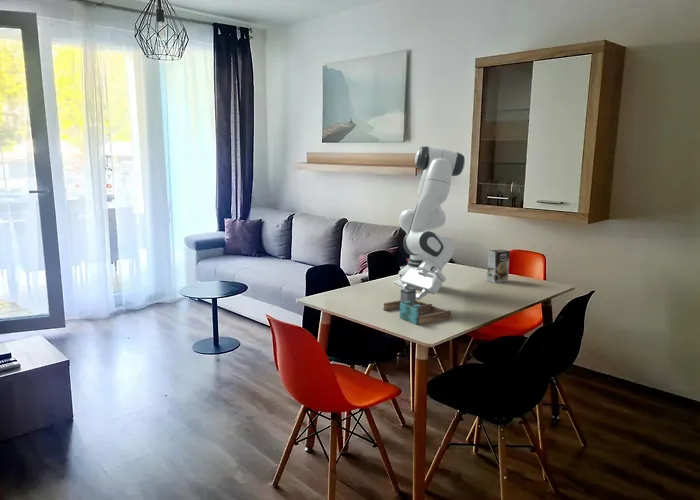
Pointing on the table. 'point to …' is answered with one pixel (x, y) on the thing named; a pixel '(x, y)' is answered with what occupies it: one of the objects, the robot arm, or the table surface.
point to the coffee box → (498, 266)
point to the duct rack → (418, 312)
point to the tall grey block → (408, 296)
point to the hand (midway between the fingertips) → (410, 296)
